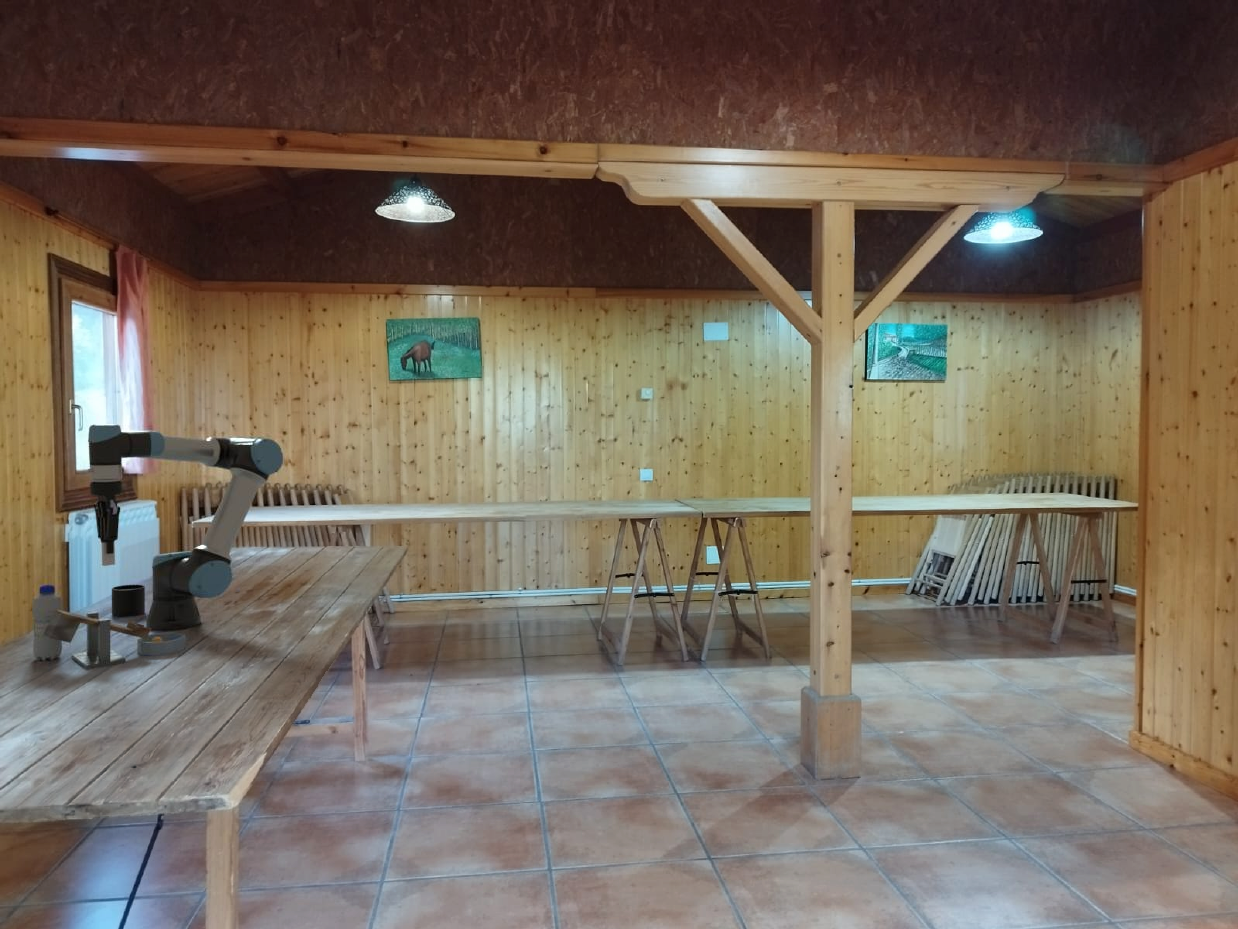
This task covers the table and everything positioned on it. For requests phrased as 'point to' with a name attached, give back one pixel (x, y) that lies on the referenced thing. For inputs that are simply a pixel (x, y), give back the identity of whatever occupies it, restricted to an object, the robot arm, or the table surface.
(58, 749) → the table surface
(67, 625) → the lever
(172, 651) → the bowl
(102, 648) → the fulcrum
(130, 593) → the mug
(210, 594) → the robot arm
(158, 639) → the ball
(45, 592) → the bottle
